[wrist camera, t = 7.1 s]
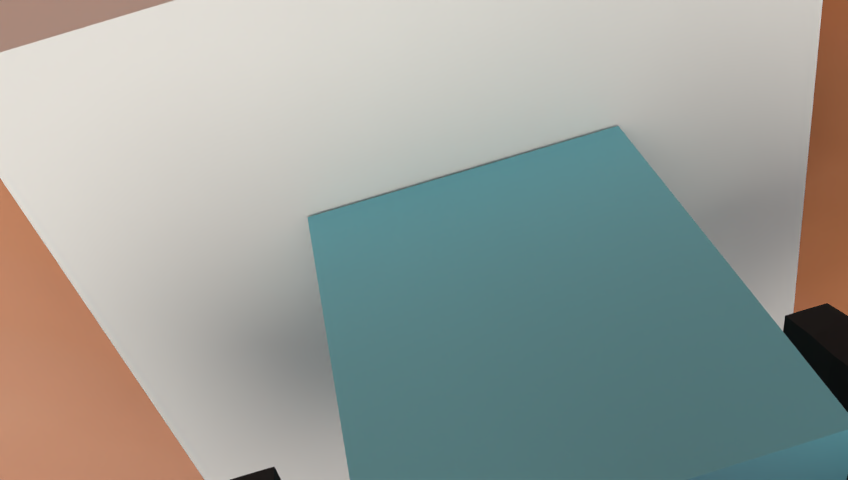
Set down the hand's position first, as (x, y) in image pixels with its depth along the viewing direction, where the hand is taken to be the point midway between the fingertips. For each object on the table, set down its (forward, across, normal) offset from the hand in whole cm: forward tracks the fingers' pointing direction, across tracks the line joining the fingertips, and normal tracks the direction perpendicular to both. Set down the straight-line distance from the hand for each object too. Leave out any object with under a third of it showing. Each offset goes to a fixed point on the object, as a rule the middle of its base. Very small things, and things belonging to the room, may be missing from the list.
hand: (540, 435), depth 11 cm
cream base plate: (+6, 0, 0) cm, 6 cm away
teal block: (+3, 0, 0) cm, 3 cm away
